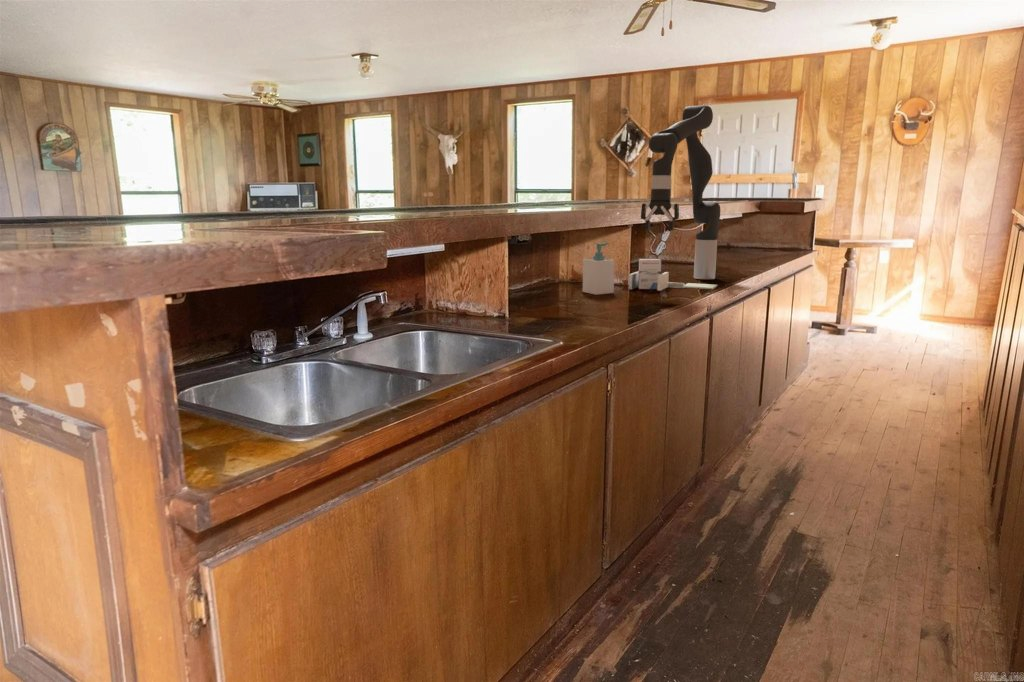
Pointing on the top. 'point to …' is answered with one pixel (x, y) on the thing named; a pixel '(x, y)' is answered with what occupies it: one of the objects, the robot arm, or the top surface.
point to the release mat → (700, 286)
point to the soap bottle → (598, 273)
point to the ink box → (649, 273)
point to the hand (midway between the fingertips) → (659, 230)
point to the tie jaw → (663, 281)
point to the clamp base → (634, 282)
